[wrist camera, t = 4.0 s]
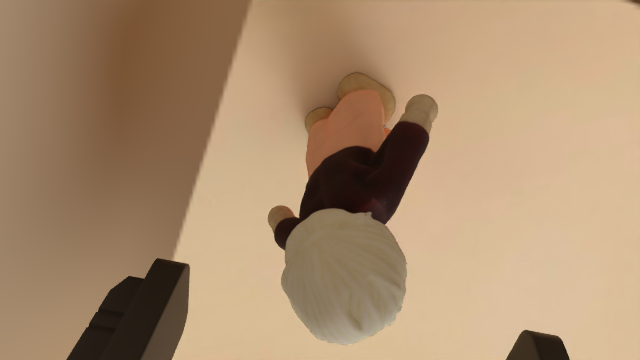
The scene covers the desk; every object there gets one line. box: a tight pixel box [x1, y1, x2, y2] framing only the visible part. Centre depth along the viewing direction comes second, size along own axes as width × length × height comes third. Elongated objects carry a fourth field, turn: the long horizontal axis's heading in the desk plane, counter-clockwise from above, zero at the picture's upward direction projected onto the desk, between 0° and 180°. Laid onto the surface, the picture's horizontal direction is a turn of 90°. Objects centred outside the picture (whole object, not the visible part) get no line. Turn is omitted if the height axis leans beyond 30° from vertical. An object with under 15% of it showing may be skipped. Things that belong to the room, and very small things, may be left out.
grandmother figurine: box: [268, 73, 438, 345], centre depth 18 cm, size 8×4×13 cm, turn 147°
